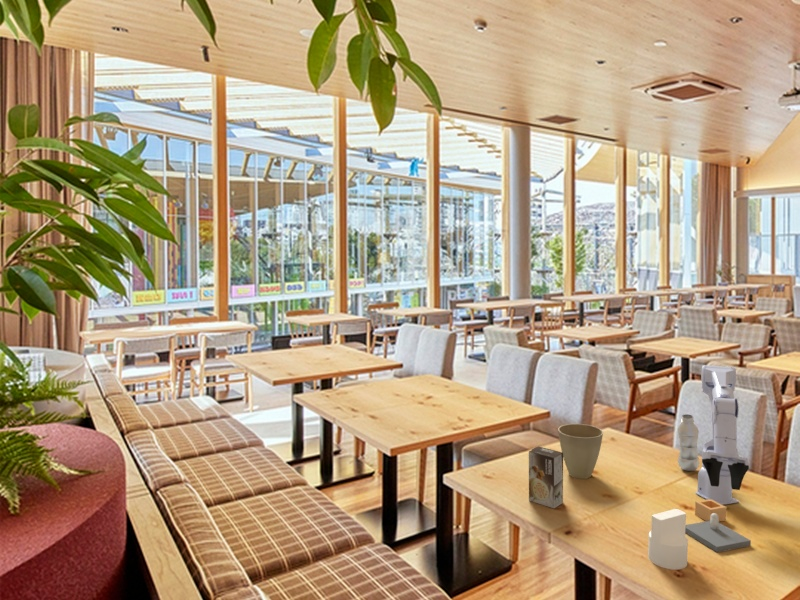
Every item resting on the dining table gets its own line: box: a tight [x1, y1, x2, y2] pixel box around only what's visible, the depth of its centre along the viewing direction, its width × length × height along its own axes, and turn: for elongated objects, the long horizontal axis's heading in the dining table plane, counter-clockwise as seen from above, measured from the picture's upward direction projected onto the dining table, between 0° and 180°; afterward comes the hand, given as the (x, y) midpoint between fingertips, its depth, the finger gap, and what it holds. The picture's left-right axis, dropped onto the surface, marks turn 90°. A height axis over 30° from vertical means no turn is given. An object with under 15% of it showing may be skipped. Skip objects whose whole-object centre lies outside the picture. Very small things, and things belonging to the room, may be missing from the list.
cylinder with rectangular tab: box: [647, 508, 689, 571], centre depth 145 cm, size 9×9×12 cm
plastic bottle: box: [677, 413, 700, 472], centre depth 201 cm, size 6×7×20 cm
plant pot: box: [557, 423, 604, 480], centre depth 200 cm, size 15×15×16 cm
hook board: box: [685, 513, 752, 553], centre depth 156 cm, size 12×11×6 cm
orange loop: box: [694, 499, 727, 523], centre depth 168 cm, size 6×6×4 cm
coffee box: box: [528, 446, 564, 509], centre depth 179 cm, size 9×6×16 cm
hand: (725, 488), depth 163 cm, fingers open, 7 cm apart
